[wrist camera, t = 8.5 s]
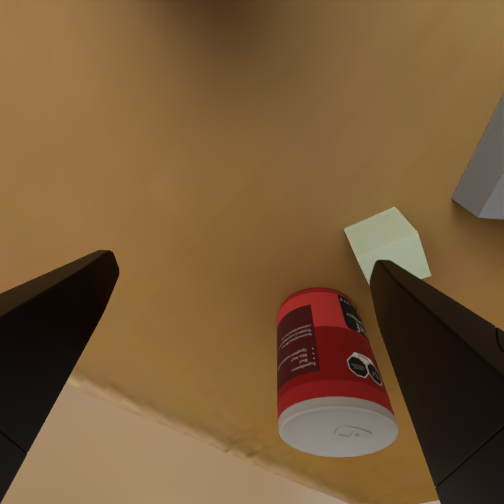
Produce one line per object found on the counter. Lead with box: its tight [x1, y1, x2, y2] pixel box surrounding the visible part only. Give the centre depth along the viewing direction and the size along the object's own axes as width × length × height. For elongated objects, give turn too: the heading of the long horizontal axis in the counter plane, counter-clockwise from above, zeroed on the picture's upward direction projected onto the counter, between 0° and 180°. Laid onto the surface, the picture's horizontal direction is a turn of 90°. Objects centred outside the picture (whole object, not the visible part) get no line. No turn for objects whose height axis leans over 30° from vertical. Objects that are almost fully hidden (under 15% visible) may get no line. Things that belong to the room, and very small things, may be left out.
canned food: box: [277, 288, 398, 457], centre depth 23 cm, size 8×8×11 cm
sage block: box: [344, 207, 431, 286], centre depth 20 cm, size 4×4×4 cm
